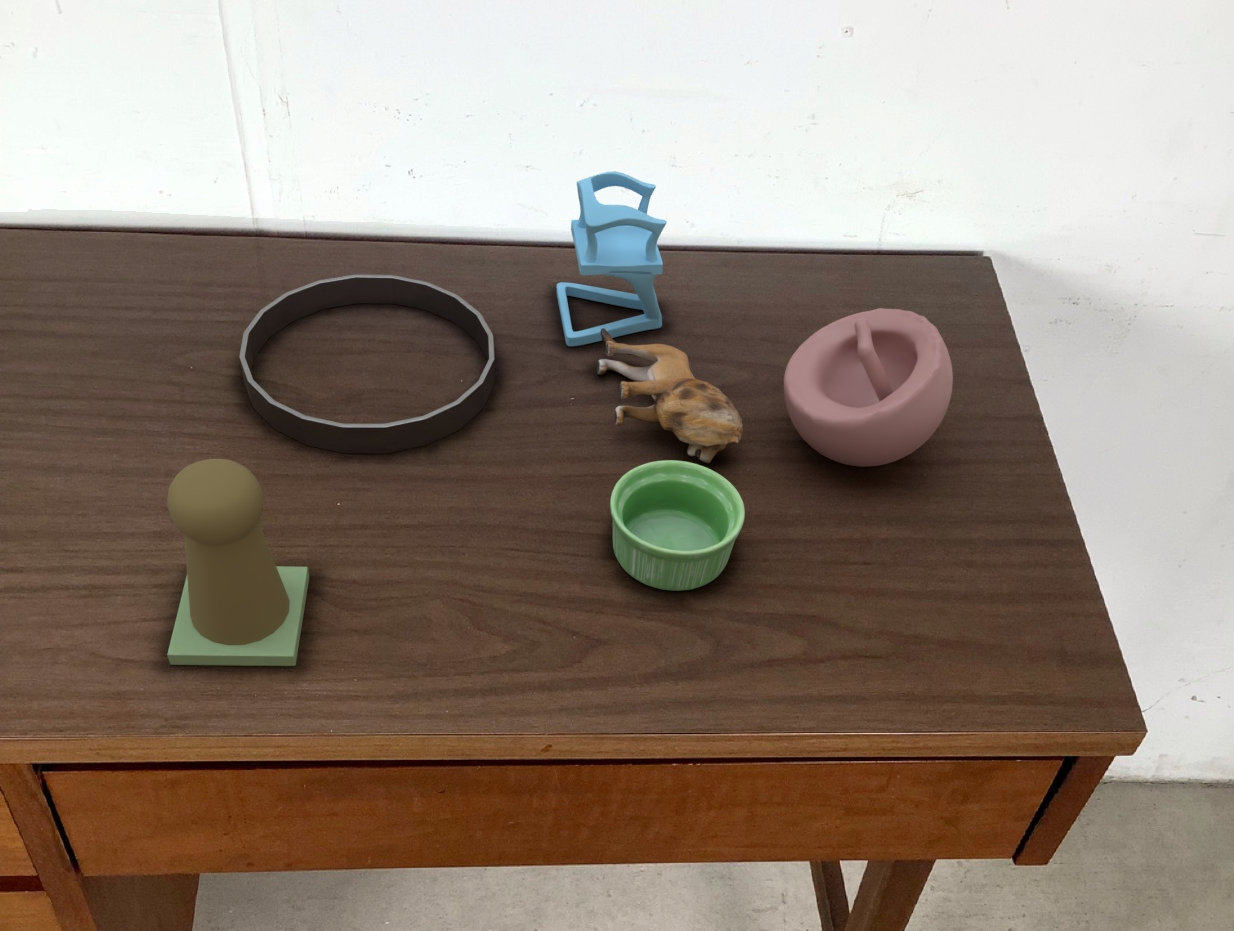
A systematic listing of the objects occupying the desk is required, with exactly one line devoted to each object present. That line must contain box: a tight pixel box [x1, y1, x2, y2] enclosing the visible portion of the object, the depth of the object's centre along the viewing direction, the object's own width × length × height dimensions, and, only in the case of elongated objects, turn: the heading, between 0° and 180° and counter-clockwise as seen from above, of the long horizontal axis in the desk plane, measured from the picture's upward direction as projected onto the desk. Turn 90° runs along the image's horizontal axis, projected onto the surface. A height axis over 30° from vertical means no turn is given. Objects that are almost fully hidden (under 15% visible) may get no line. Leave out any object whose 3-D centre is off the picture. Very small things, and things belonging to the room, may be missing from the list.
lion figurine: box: [596, 328, 744, 464], centre depth 92 cm, size 15×5×9 cm
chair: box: [556, 170, 668, 347], centre depth 97 cm, size 8×8×12 cm
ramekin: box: [609, 459, 746, 592], centre depth 82 cm, size 9×9×4 cm
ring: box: [238, 273, 495, 455], centre depth 93 cm, size 19×19×2 cm
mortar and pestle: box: [782, 307, 954, 468], centre depth 89 cm, size 12×12×11 cm
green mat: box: [166, 565, 310, 667], centre depth 77 cm, size 8×8×1 cm
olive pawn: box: [166, 458, 290, 645], centre depth 72 cm, size 6×6×11 cm
